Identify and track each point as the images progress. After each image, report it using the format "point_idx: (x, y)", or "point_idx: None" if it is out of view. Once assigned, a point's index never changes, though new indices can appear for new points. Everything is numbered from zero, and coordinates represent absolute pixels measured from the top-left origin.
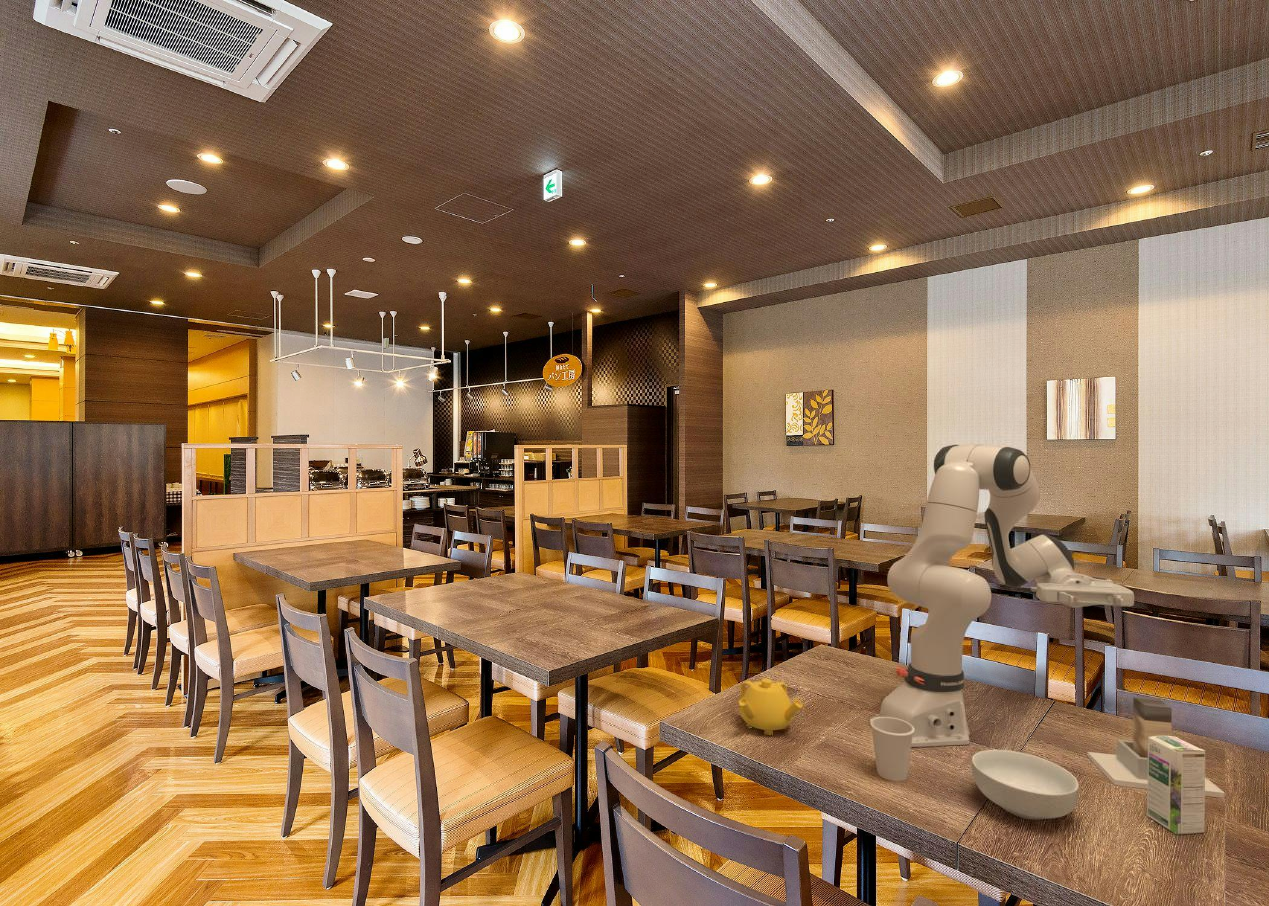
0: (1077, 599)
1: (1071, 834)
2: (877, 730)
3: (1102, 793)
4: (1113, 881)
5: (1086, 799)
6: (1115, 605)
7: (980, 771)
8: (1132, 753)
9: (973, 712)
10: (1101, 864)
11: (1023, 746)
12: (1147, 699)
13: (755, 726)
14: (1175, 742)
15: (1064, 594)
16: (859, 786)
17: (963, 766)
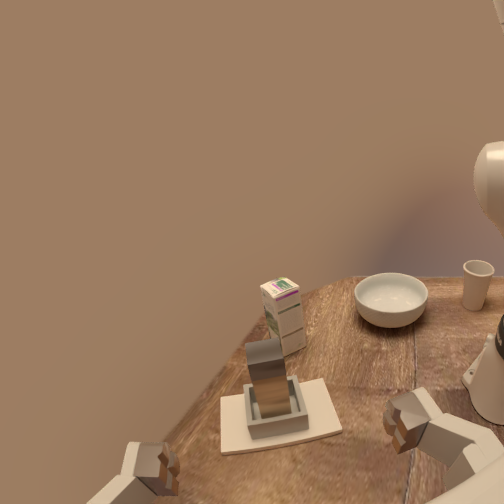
0: (387, 406)
1: None
2: (479, 260)
3: (335, 362)
4: (337, 287)
5: (349, 347)
6: (179, 467)
7: (413, 277)
8: (298, 383)
9: None
10: (342, 293)
11: None
12: (266, 356)
13: None
14: (279, 284)
15: (463, 421)
16: None
17: (445, 340)
